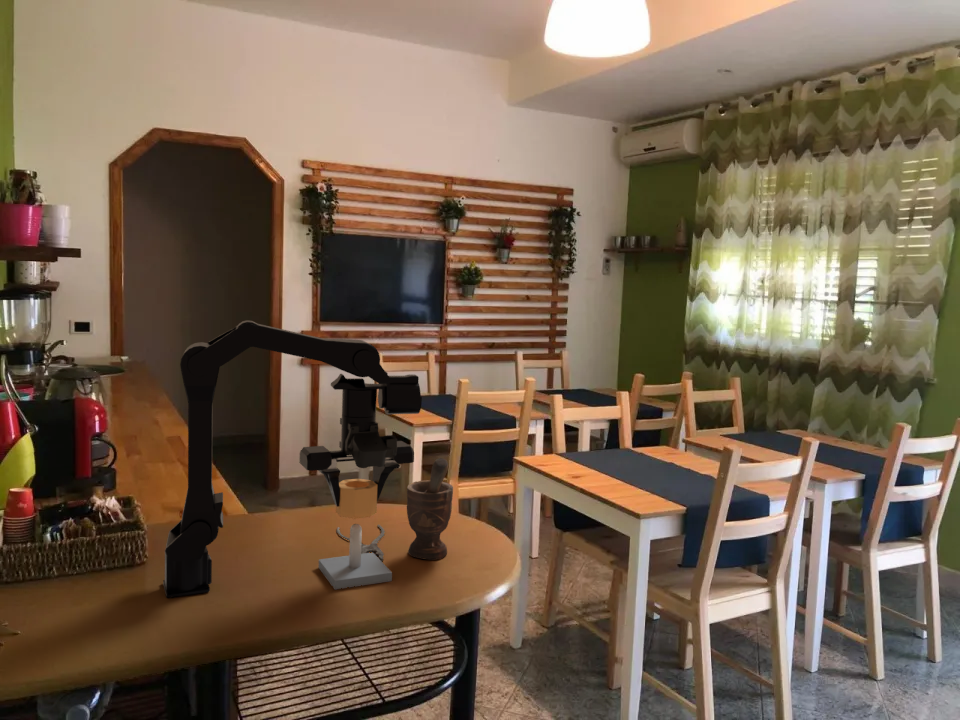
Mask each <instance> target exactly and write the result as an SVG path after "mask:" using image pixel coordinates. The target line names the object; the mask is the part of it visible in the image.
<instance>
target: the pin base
mask: <svg viewBox="0 0 960 720" xmlns="http://www.w3.org/2000/svg"><path fill="white" fill-rule="evenodd" d="M349 529H350V530H349V538H350V542H349V549H348V550H349V551H348V553H349V554H348V555H343V556H335V557H328V558H320V559H318V569H319V571H320V572H321V573H322V575H323V576H324V577H325V578H326V579H327V581H328V582H329V584H330V585H331V587H332V586H333V587H332V588H333V589H334V590H342V589H346V588H347V587H349V588H355V587H361V585H362V586H368V585H374V584H381V583H382V584H383V583H386V582H392V580H393V572H392V570H390V569H389V567H387V566H386V565H385V564H384V562H382V561H381V560H380V559H379V557H377V556H376V555H375V553H373V552H372V553H364V554H361V543H362V541H363V540H362V537H363V536H362V535H363V532H362V531H363V529H362V526H361V525H360V524H359V523H353V524H352V525H351V526H350V528H349ZM354 586H355V587H354ZM341 588H342V589H341ZM347 589H348V588H347Z"/></svg>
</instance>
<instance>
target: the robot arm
mask: <svg viewBox="0 0 960 720" xmlns="http://www.w3.org/2000/svg"><path fill="white" fill-rule="evenodd" d="M249 348H258V349H262V350H267V351H272V352H277V353H280V354H281V353H282V354H286V355H291V356H294V357H299V358H304V359H308V360H314V361H318V362H322V363H324V364H326V365H328V366H331V367H334V368H336V369H338V370H340V371H343V372H345V373H348V374H351V375H353V376H355V377H356V378H355V377H353V378H347V377H346V376H345V375H344V374H343V373H339V375H338V376H337V377H336V378H335V379H334V380H333V381H332V382H330V386H331V387H332V389H334V390H337V391H338V390H341V391H342V393H341V394H342V397H341V400H342V402H341V404H342V405H341V417H340V418H339V424H340V425H341V435H340V436H341V438H340V439H341V440H340V441H339V444H338V445H339V449H340V450H329V449H328V448H326V446H324V445H316V446H303V447H302V448H301V450H300V451H299V464H300V465H301V466H302V467H303V468H304V469H305V470H306V471H311V472H312V471H318V472H319V473H320V474H322V475H323V476H324V478H325V480H326V482H327V485H328V488H329V491H330V495H331V497H332V500H333V502H334V506H335V507H336V506H337V507H339V503H340V491H339V482H340V473H341V469H339V468H338V467H337V463H340V462H352V461H354V462H355V466H356V467H357V468H360V469H367V468H368V467H369V468H370V467H372V481H373V482H375V483H376V484H377V502H378V501H379V499H380V496H381V493H382V491H383V489H384V486H385V484H386V482H387V480H388V478H389V476H390V475H391V473H392V472H393V471H395V470H396V469H399V468H400V466H401V465H403V464H404V465H405V464H411V463H412V464H413V463H414V462H415V452H414V451H415V450H414V448H413V447H412V446H411V445H409V444H408V443H406V442H404V441H402V440H398V438H397V437H396V435H395V434H388V435H383V436H382V435H381V436H380V433H379V425H378V424H379V423H378V422H377V421H376V420H377V418H376V417H377V415H376V414H377V402H378V407H379V409H380V410H384V414H385V415H418V414H420V413H421V409H422V404H423V403H422V402H423V401H422V400H423V397H422V395H421V388H420V383H419V379H420V378H419V377H420V376H418V375H416V374H406V375H388V371H386V370H385V369H384V368H383V366H382V365H381V356H380V352H379V351H378V349H377V347H375V346H374V345H372V344H371V343H369V342H367V341H365V340H362V339H353V338H351V339H349V338H323V337H318V336H314V335H310V334H309V335H308V334H306V333H305V334H304V333H300V332H296V331H293V330H292V331H291V330H287V329H282V328H278V327H273V326H269V325H265V324H260V323H257V322H255V321H253V320H247V319H246V320H243V321H241V322H240V323H238V325H236V326H235V327H233V328H230V329H229V330H227V331H226V332H224V333H222V334H220V335H218V336H217V337H214V338H213V339H211V340H209V341H208V342H203V341H202V342H195V343H192V344H190V345H189V346H187V348H186V349H185V350H184V352H183V354H182V356H181V359H180V363H179V364H180V365H179V367H180V371H181V377H182V383H183V387H184V391H185V395H186V400H187V404H188V405H187V407H188V408H187V411H188V412H187V414H188V415H187V417H188V418H187V419H188V420H187V423H188V424H187V427H188V428H187V432H188V434H187V435H188V436H187V490H186V497H185V502H184V506H183V511H182V516H181V520H180V521H179V522H178V523H176V525H174V526H173V527H172V528H171V529H170V530H169V532H168V534H167V535H168V536H167V539H166V544H165V549H164V579H163V580H162V582H163V583H162V584H163V588H164V593H165V598H173V597H175V598H176V597H182V596H183V597H184V596H188V595H195V594H202V593H210V589H211V588H210V584H212V581H213V580H212V579H213V578H212V576H213V575H212V574H213V573H212V572H213V571H212V569H213V568H212V567H213V561H212V558H211V555H210V554H209V550H208V548H207V546H209V545H210V544H212V543H213V542H214V541H215V540H216V539H217V537H218V536H219V535H218V534H219V531H220V530H219V529H220V528H221V529H223V528H224V513H223V506H224V505H223V504H224V493H223V492H222V491H221V492H217V493H215V489H214V485H213V402H214V397H215V392H216V389H217V382H218V378H219V372H220V367H222V366H224V365H225V364H227V363H228V362H230V361H232V360H233V359H235V358H236V357H238V356H239V355H240V354H242V353H244V352H245V351H247V350H249ZM367 377H368V378H370V379H371V380H372V381H374V382H375V383H366V382H365V379H364V378H367ZM377 390H378V392H377ZM377 393H378V394H377ZM400 464H401V465H400Z"/></svg>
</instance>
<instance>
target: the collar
mask: <svg viewBox="0 0 960 720" xmlns="http://www.w3.org/2000/svg"><path fill="white" fill-rule="evenodd" d="M339 491H340V503H339V507H337V506H336V505H335V513H336V514H337V515H338V516H339V517H341V518H346V519H347V518H348V519H353V520H356V519H357V520H358V519H366V518H371V517H373V516H374V515H375V514H377V512H378V509H377V508H378V507H377V506H378V501H377V484H376V483H375V482H373V479H372V480H370V479H363V478H352V479H343V480H341V481H339Z"/></svg>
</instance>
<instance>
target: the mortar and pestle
mask: <svg viewBox="0 0 960 720" xmlns="http://www.w3.org/2000/svg"><path fill="white" fill-rule="evenodd" d="M448 469H449V463H448V460H447V459H445V458H441V457H440V458H436V459H435V460H434V462H433V464H432V466H431V470H430V471H431V472H430V479H429V480H427V479H426V480H418V481H414V482H412V483H408V485H407V488H406V500H407V501H406V516H407V519H408V524H409V526H410V528H411V530H413V532H414V533H415V538H414V540H413V541H412V542H411V543H410V545H409V548H408V551H407V553H408V555H409V556H411V557H413V558H417V559H423V560H428V561H435V560H441V559H443V558H444V557H446V556H447V554H448V549H447V545H446V543H445V542H444V541H442V539H441V534H442V533H443V532H444V531H445V530H446V529H447V528H448V525H449V522H450V519H451V516H452V515H451V514H452V508H453V506H452V505H453V503H452V502H453V494H454V486H453V485H452V484H450V483H449V482H446V481H443V480H444V479H445V477H446V474H447V472H448Z"/></svg>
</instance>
